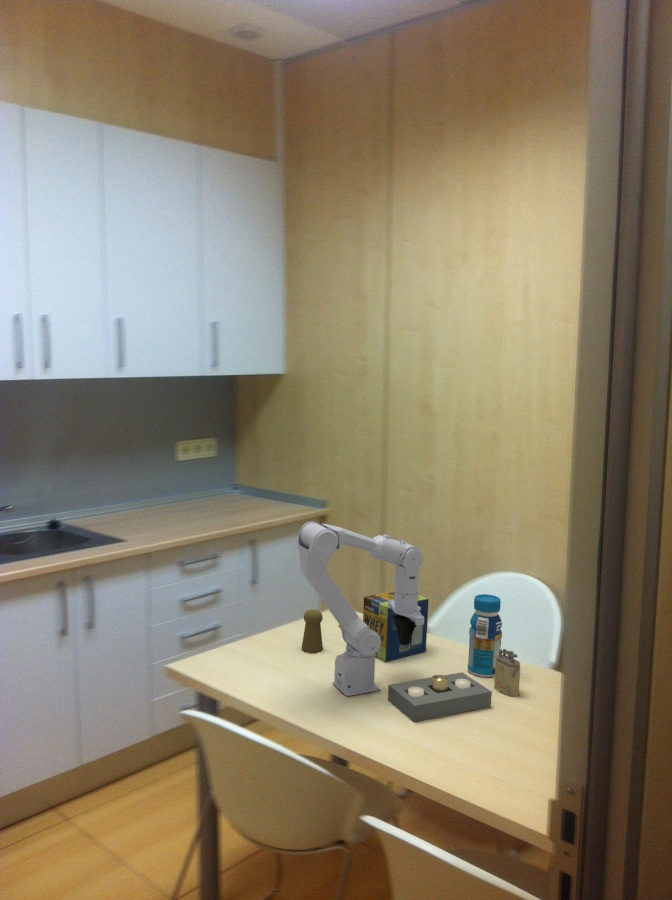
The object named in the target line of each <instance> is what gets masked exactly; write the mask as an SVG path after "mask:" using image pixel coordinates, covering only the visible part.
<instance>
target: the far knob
mask: <svg viewBox="0 0 672 900" xmlns="http://www.w3.org/2000/svg"><path fill="white" fill-rule="evenodd" d="M470 683H471V682H470V681H469V680H467V679H456V680H455V686H457V687H458V688H460V689H464V688H469V687H470Z"/></svg>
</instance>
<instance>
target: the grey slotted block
mask: <svg viewBox="0 0 672 900" xmlns="http://www.w3.org/2000/svg"><path fill="white" fill-rule="evenodd" d="M444 676H446V677H448V689H447V692H441V693H436V692H435V691H433V690H432V680H433V676H432V677H426V678H420V679H415V680H408V681H401V682H398V683H396V682H395V683H391V684H388V688H387V701H388V702H389V703H391V704H392V705H393V706H395V708H396V709H398V710H399V711H400V712H401V713H403V714H404V715H405V716H406V717H407V718H408V719H409V720H410V721H412V722H413V723H417V722H420V721H421V722H422V721H425V720H431V719H432V720H433V719H436V718H443V717H447V716H452V715H457V714H462V713H467V712H472V711H477V710H483V709H486V708H492V694H493V693H492V692H493V691H492V690H490V689H488V688H487V687H486V686H485V685H482V684H481V683H480V682H478V681H476V680H475V679H474V678H471V677H470V676H469V675H468V674H465V672H455V673H450V674H449V673H448V674H444ZM456 679H467V680H469V681H470V682H471V683H470V687H469V688H464V689H460V688H458V687H457V686H455V680H456ZM410 687H420V688H423V689H424V696H419V697H414V698H413V697H411V696H410V695H409V694H408V689H409V688H410Z"/></svg>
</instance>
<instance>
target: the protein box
mask: <svg viewBox="0 0 672 900" xmlns="http://www.w3.org/2000/svg"><path fill="white" fill-rule="evenodd" d="M390 600H395V590H392V591H391V590H390V591H387V592H382V593H378V594H377V593H376V594H372V595H367V596H364V597H363V608H362V609H363V610H362V611H363V614H362V621H363V622H364V623H365V624H366V625H367V626H368V627H369V628H370V629H371V630H372V631H374V632H376V633H377V634H378V635H379V636H380V638H381V646H380V648H379V650H378V652H377V653H376V656H375V659H378V660H380V661H382V662H384V663H387V662H390V661H391V662H392V661H395V660H399V659H402V658H407V657H411V656H415V655H418V654H421V653H425V652H427V634H428V616H429V598H427V597H425V596H422V595H420V594H418V600H417V606H419V607H421V610H420V613H421V615H422V616H423V617H424V625H418V626H417V625H416V627H415V629H414V631H413V634H412V637H411V641H410V644H408V645H402V644H400V641H399V636H398V632H397V628H396V625H395V623H394V621H393V619H392V616H393V615H397V614H396V613H395V612H394V611H393V609H390V608H388V601H390Z"/></svg>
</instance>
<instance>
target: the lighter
mask: <svg viewBox="0 0 672 900" xmlns="http://www.w3.org/2000/svg"><path fill="white" fill-rule="evenodd" d="M515 658H518V655H517V654H516V653H515V651H514V650H507V649H506V648H503V649H499V655H497V657H496V665H495V676H494V685H493V688H494V689H496V690H497V691H498V692H499V693H502V694H505V695H507V696H509V697H517V696H519V695H520V679H521V677H520V676H521V662H520V661H519V660H516V659H515Z"/></svg>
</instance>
